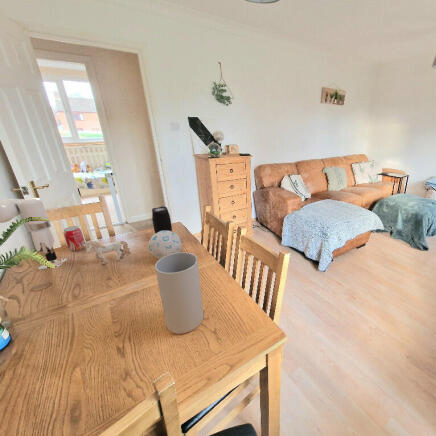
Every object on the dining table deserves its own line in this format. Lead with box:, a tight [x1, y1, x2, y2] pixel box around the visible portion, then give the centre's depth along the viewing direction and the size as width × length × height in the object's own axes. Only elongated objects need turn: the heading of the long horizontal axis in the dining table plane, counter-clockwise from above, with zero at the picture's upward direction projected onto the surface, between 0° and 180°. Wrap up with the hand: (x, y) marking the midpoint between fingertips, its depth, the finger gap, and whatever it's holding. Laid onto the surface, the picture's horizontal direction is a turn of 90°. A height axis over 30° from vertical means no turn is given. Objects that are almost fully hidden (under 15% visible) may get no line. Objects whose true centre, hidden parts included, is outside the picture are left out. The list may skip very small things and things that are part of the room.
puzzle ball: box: [147, 230, 183, 260], centre depth 121 cm, size 15×15×15 cm
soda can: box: [62, 225, 86, 252], centre depth 125 cm, size 7×7×12 cm
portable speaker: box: [151, 206, 173, 234], centre depth 139 cm, size 9×9×20 cm
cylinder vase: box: [154, 251, 205, 335], centre depth 82 cm, size 12×12×25 cm
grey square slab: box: [37, 258, 68, 270], centre depth 114 cm, size 8×8×2 cm
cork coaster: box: [30, 280, 52, 292], centre depth 99 cm, size 6×6×1 cm
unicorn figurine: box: [79, 239, 132, 265], centre depth 115 cm, size 7×20×13 cm, turn 142°
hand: (52, 259), depth 115 cm, fingers closed
